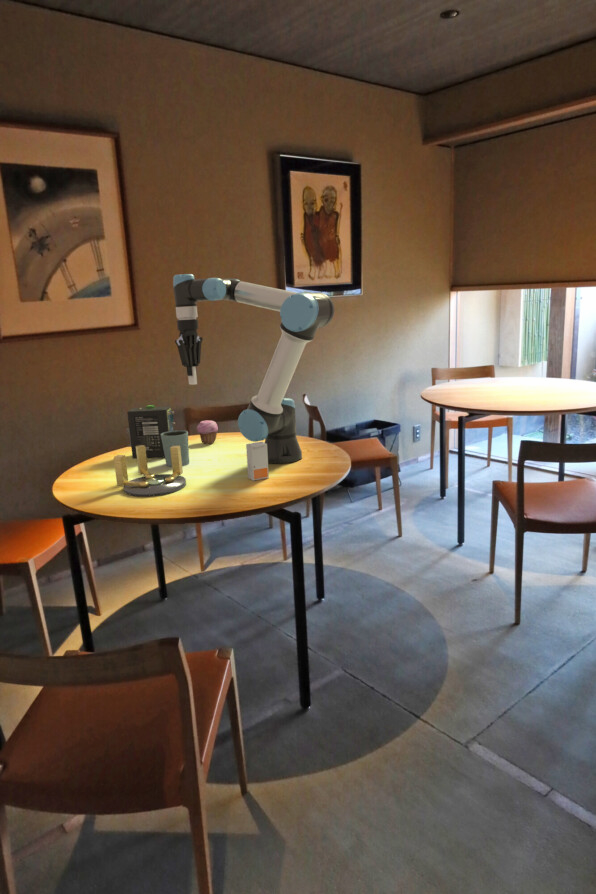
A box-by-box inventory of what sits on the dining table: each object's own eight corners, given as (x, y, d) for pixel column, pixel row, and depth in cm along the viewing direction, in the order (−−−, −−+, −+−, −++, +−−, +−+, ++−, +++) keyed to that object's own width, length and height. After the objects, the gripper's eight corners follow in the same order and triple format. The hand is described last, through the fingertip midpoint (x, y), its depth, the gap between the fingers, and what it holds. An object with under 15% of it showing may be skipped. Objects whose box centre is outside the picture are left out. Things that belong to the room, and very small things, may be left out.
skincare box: (252, 481, 202) (250, 446, 199) (247, 478, 206) (245, 443, 203) (269, 478, 205) (267, 443, 202) (264, 475, 208) (262, 441, 205)
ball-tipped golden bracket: (150, 485, 197) (146, 456, 195) (145, 487, 194) (142, 458, 192) (122, 483, 200) (118, 454, 198) (117, 485, 198) (113, 457, 196)
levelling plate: (198, 481, 204) (197, 474, 204) (157, 499, 187) (156, 492, 187) (153, 476, 214) (153, 469, 213) (110, 492, 197) (109, 485, 197)
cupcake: (194, 443, 261) (192, 420, 259) (211, 439, 267) (209, 417, 264) (206, 446, 255) (204, 423, 252) (223, 442, 260) (221, 419, 258)
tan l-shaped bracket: (172, 482, 199) (169, 453, 196) (164, 482, 199) (161, 453, 197) (183, 473, 209) (180, 445, 207) (175, 473, 209) (172, 445, 207)
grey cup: (182, 468, 223) (178, 436, 220) (158, 466, 226) (155, 435, 223) (195, 461, 232) (193, 430, 229) (172, 459, 235) (169, 429, 233)
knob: (155, 478, 204) (152, 450, 202) (147, 480, 203) (144, 452, 200) (146, 471, 213) (143, 444, 211) (138, 473, 212) (135, 446, 210)
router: (174, 457, 240) (169, 407, 235) (129, 459, 240) (123, 409, 235) (179, 452, 247) (174, 403, 243) (134, 454, 248) (129, 405, 243)
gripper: (190, 318, 226) (196, 381, 231) (167, 320, 215) (173, 386, 221) (206, 317, 222) (212, 382, 228) (183, 319, 211) (189, 387, 217)
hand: (193, 384), depth 224 cm, fingers closed
